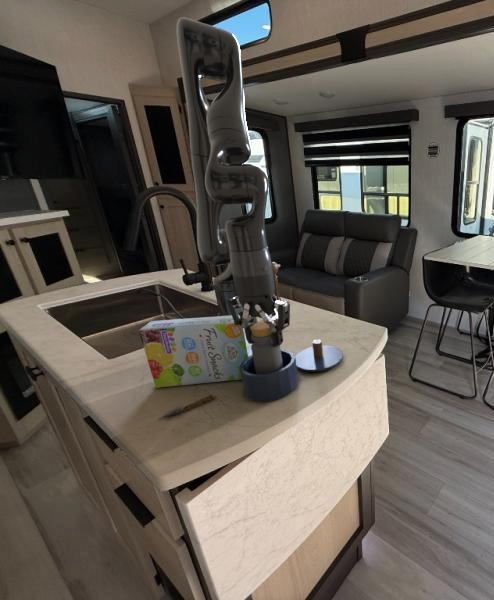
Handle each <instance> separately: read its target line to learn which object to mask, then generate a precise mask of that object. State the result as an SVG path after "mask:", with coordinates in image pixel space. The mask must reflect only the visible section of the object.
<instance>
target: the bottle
mask: <svg viewBox="0 0 494 600" xmlns="http://www.w3.org/2000/svg"><path fill="white" fill-rule="evenodd" d="M251 330H252V334H251V338H252V340H253V341H255V342H254V343H253V344H252V346H251V349H252V354H253V360H254V365H255V371H256V375H259V374H268V373H272V372H276V371H278V370H280V369H282V368H283V362H282V356H281V349H282V348H281V345H280V346H278V347H273V341H272V335H271V332H272V331H271V329H270V327H269V326H268V324H266V323H265V322H264V321H263V320H262V321H257V323H255V324H253V325H252V326H251Z"/></svg>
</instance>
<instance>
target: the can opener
mask: <svg viewBox="0 0 494 600" xmlns="http://www.w3.org/2000/svg"><path fill="white" fill-rule="evenodd" d="M213 400H214V396H213V394H211V395H207V396H205V397H203V398H201V399H198V400H196V401H195V402H192V403H190V404H187V405H186V406H184V407H183V408H181V409H180V408H179V409H176V410H173V411H170V412H168V413H167V414H166V415H164V416H163V418H164V417H167V418H168V419H170V418H169V415H170V416H171V417H172V418H173V417H174V416H176V415H178V416H179V415H180V414H182V413H183V412H184V411H185V412H187V411H190V410H192V409H194V408H196V407H199V406H202V405H204V404H206V403H209V402H211V401H213Z"/></svg>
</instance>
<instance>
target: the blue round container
mask: <svg viewBox="0 0 494 600" xmlns="http://www.w3.org/2000/svg"><path fill="white" fill-rule="evenodd" d="M280 349H281V356H282V362H283V368H282V369H280V370H278V371H276V372H272V373H268V374H259V375H256V371H255V365H254V360H253V355H251V356H249V357H248V358H246V359H245V360H243V362H242V363H241V365H240V372H241V377H242V379H241V382H242V387H243V392H244V395H245V397H246V398H247V399H248V400H250V401H253V402H258V403H266V402H267V403H268V402H272V401H273V402H274V401H277V400H280V399H282V398H284V397H286V396H288V395H290V394H291V393H292V392H293V391H294V390H295V389H296V388H297V386H298V384H299V374H298V368H297V367H296V359H295V356H296V355H295V354H294V352H292V351H289V350H288V349H282V348H280Z"/></svg>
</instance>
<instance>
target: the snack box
mask: <svg viewBox="0 0 494 600" xmlns="http://www.w3.org/2000/svg"><path fill="white" fill-rule="evenodd" d="M238 316H239V315H238ZM239 318H240V316H239ZM138 334H139V337H140V340H141V343H142V347H143V350H144V353H145V356H146V360H147V364H148V366H149V369H150V373H151V376H152V379H153V383H154V386H155V388H156V389H158V388H168V387H177V386H188V385H199V384H209V383H218V382H229V381H239V380H242V377H241V372H240V365H241V363H242V362H243V360H245V359H246V358H248V357H249V356H251V355H253V354H252V349H251V346H252V344H249V343H248V341H247V339H246V335H245V330H244V328H242V326H241V325H235V323H234V320H233V317H232V315H231V316H217V315H216V316H205V317H203V316H202V317H191V318H186V319H182V318H176V319H161V320H151V321H149V322H147V323H146V324H145V325H144V326H142V327H141V328H140V329H138Z"/></svg>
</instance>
